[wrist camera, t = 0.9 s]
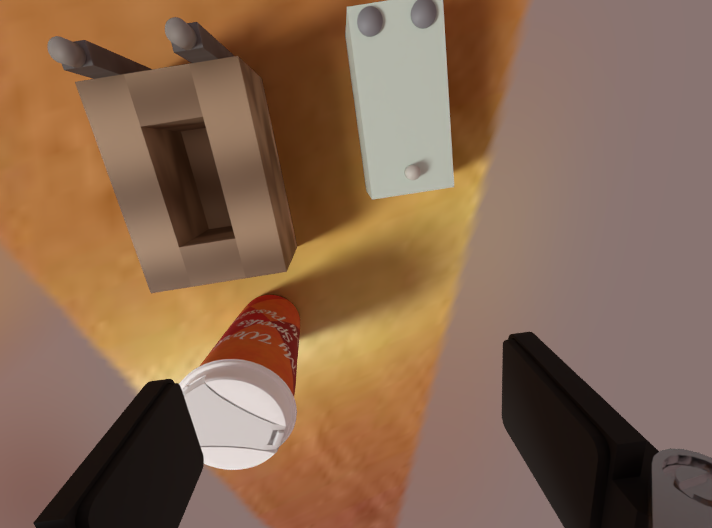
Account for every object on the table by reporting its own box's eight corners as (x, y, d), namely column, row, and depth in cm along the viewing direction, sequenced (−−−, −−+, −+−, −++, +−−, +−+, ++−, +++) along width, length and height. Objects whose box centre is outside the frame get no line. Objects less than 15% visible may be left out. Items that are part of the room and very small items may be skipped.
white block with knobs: (345, 36, 28) (347, 1, 21) (421, 24, 28) (446, -14, 21) (366, 190, 31) (373, 201, 25) (433, 180, 31) (457, 187, 25)
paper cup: (322, 298, 34) (311, 393, 21) (296, 364, 36) (272, 488, 23) (242, 272, 33) (177, 355, 20) (221, 341, 35) (148, 458, 22)
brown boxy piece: (132, 81, 28) (16, 42, 18) (258, 61, 28) (212, 11, 18) (189, 264, 32) (123, 314, 22) (297, 246, 32) (278, 289, 22)
